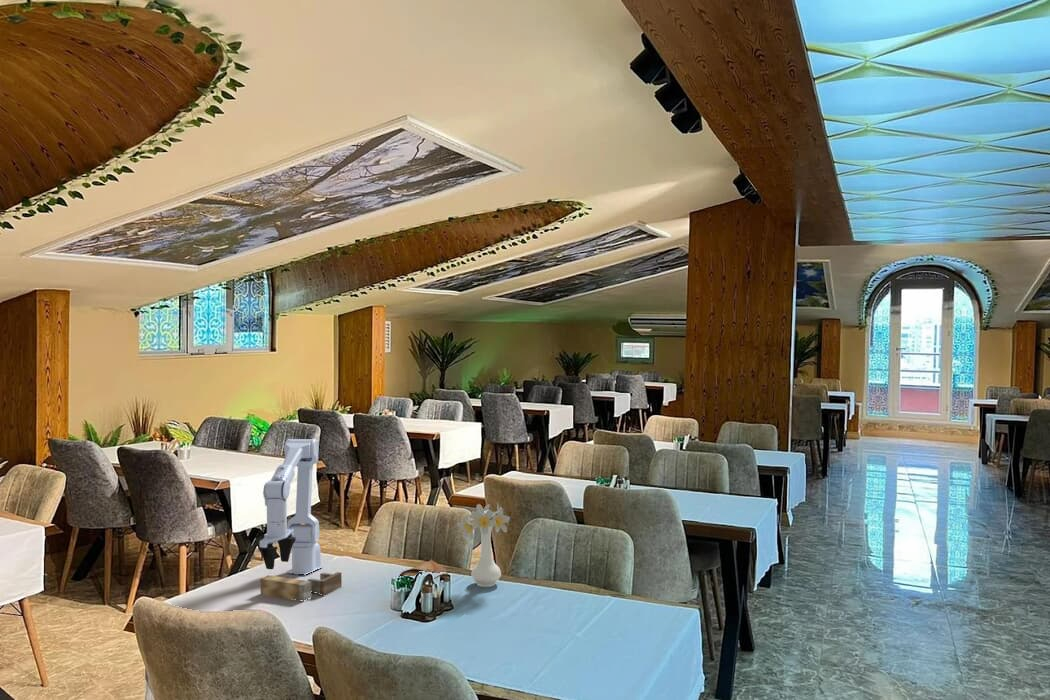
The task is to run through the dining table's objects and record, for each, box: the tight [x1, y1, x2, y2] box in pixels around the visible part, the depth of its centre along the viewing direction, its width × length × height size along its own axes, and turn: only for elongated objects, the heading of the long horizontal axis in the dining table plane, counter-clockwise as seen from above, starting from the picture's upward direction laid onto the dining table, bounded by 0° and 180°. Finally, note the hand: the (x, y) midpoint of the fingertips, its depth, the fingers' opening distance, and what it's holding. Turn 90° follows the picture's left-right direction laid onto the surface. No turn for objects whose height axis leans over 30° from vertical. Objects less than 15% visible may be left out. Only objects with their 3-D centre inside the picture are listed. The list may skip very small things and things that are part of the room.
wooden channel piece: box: [307, 571, 343, 596], centre depth 250 cm, size 6×9×4 cm
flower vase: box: [456, 502, 511, 588], centre depth 254 cm, size 13×18×25 cm
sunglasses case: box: [398, 559, 449, 578], centre depth 263 cm, size 18×7×7 cm
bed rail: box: [259, 575, 312, 601], centre depth 244 cm, size 16×4×5 cm, turn 68°
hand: (277, 565), depth 244 cm, fingers open, 7 cm apart
